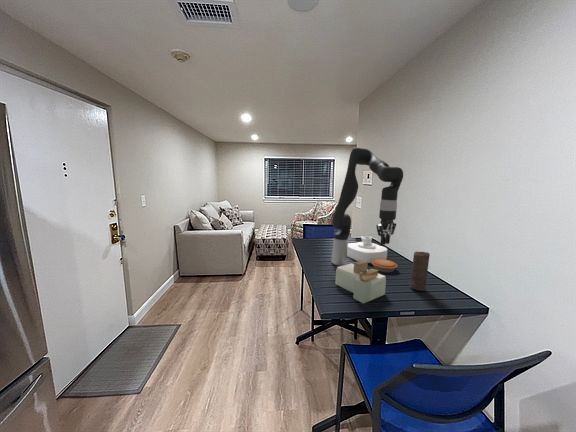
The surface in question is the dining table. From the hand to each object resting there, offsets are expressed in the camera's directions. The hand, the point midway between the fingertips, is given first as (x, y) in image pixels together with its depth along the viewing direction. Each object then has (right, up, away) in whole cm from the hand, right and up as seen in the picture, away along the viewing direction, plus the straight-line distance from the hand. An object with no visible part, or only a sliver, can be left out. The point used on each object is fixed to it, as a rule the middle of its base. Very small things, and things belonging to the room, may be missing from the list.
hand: (384, 243), depth 125 cm
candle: (+20, -25, +8) cm, 33 cm away
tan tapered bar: (-9, -16, -4) cm, 19 cm away
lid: (-11, -16, +5) cm, 20 cm away
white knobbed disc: (+9, -16, +60) cm, 63 cm away
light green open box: (-13, -24, +5) cm, 28 cm away
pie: (+13, -20, +36) cm, 43 cm away
